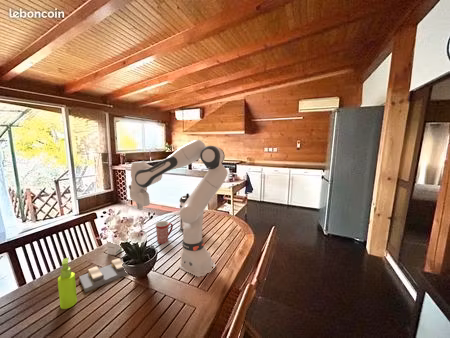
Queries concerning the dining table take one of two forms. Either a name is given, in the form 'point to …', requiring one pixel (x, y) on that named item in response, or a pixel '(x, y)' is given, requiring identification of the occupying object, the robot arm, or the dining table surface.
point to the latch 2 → (117, 264)
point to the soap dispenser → (67, 286)
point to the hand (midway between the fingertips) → (139, 209)
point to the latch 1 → (95, 273)
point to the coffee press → (182, 201)
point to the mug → (163, 231)
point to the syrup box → (113, 248)
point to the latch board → (109, 275)
